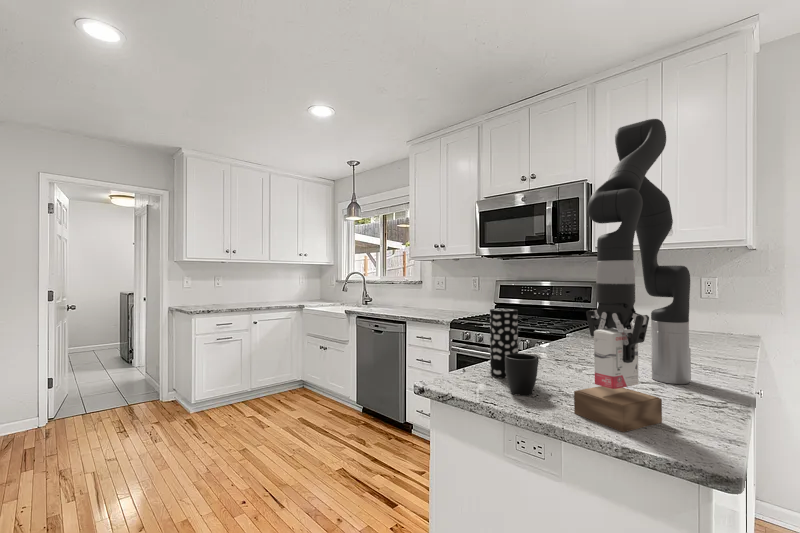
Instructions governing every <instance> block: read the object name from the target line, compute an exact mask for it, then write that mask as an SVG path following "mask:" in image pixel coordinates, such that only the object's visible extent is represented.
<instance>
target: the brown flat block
mask: <svg viewBox="0 0 800 533" xmlns="http://www.w3.org/2000/svg"><path fill="white" fill-rule="evenodd" d="M573 395H574V396H573V400H574V401H573V402H574V409H573V410H574V413H573V414H575V415H578V416H580V417H583V418H585V419H588V420H590V421H593V422H596V423H598V424H601V425H604V426H606V427H609V428H612V429H614V430H616V431H620V432H622V433H625V432H630V431H634V430H637V429H641V428H645V427H646V428H647V427H651V426H653V425H659V424H662V423H663V406H662V405H663V404H662V402H663V401H662V400H663V399H662V398H661V397H658V396H655V395H651V394H647V393H644V392H641V391H637V390H633V389H629V388H627V387H623V388H618V389H611V388H607V387H603V386H600V385H598V386H595V387H589V388H583V389H577V390H574V391H573Z"/></svg>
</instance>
